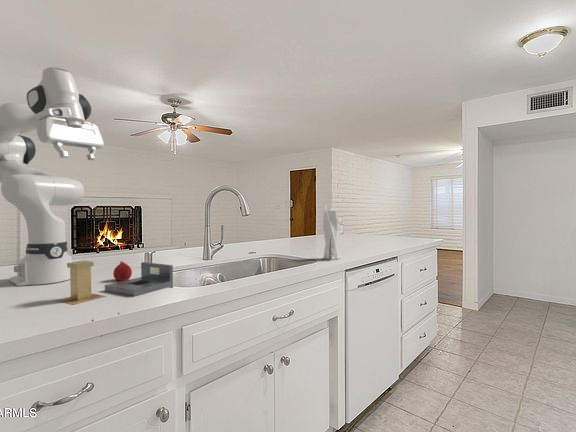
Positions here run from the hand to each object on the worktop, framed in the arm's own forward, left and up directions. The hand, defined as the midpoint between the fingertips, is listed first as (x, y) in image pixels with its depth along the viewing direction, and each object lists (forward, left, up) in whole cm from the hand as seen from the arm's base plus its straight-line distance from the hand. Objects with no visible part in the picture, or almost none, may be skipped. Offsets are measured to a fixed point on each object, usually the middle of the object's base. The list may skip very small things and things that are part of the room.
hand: (78, 158), depth 103 cm
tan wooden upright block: (+17, -9, -42) cm, 46 cm away
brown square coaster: (+17, -9, -43) cm, 47 cm away
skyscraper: (+53, +95, -43) cm, 117 cm away
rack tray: (+22, +6, -43) cm, 49 cm away
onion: (+6, +11, -43) cm, 45 cm away
